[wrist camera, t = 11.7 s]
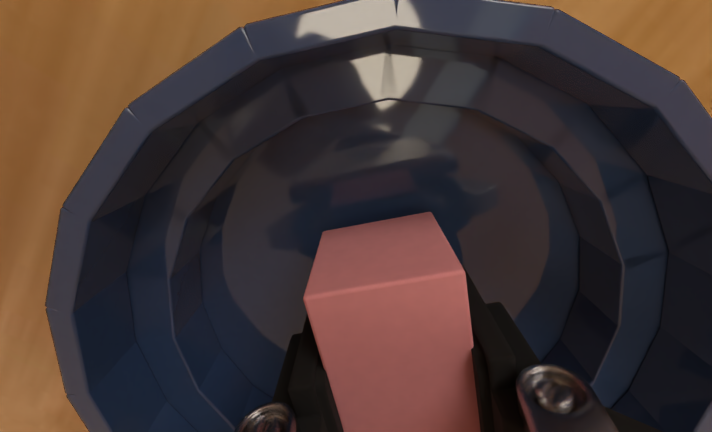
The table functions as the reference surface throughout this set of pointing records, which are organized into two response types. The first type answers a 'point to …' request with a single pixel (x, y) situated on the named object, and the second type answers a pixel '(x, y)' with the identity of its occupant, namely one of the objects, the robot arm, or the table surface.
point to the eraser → (394, 327)
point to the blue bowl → (390, 206)
